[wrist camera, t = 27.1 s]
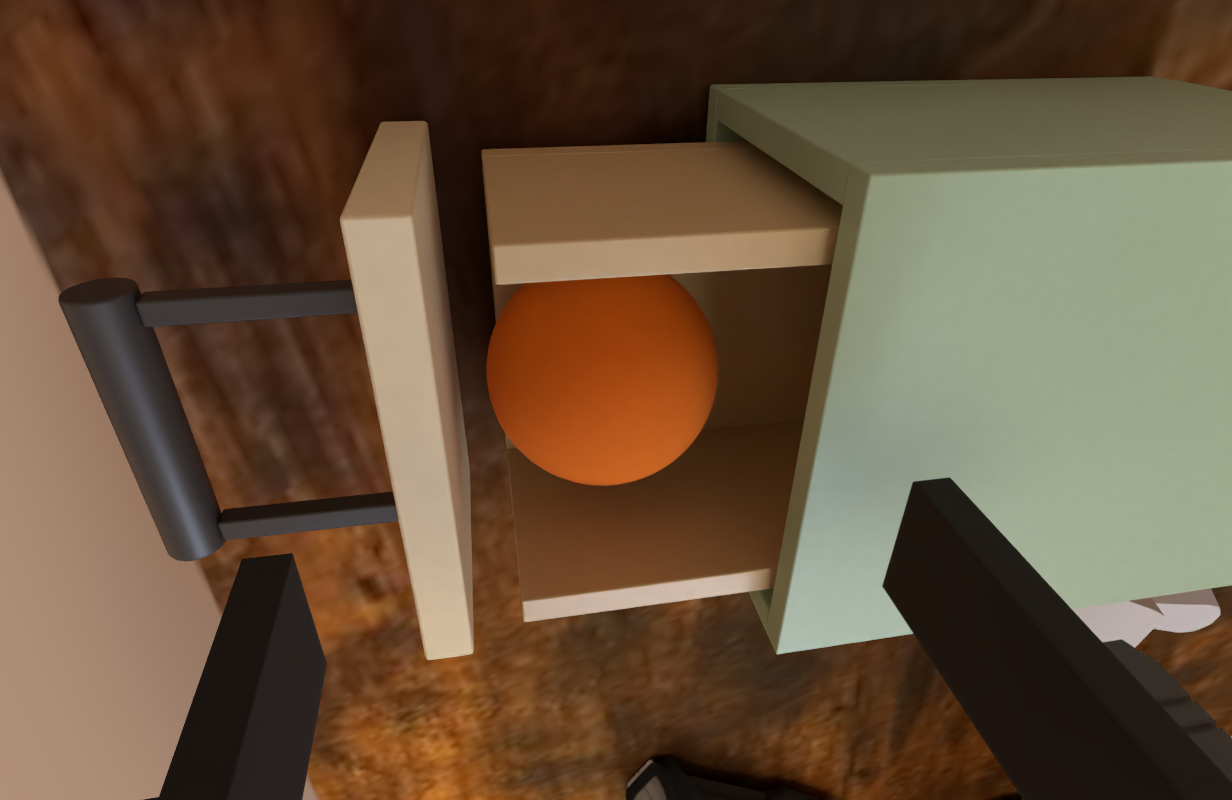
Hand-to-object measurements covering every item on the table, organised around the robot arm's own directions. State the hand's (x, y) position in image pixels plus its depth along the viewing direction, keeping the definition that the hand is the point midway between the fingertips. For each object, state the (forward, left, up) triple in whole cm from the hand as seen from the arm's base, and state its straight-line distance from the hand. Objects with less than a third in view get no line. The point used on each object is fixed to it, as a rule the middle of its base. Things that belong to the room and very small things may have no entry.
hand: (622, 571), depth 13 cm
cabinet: (0, +12, -12) cm, 17 cm away
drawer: (0, -1, -11) cm, 11 cm away
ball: (0, +1, -7) cm, 7 cm away
